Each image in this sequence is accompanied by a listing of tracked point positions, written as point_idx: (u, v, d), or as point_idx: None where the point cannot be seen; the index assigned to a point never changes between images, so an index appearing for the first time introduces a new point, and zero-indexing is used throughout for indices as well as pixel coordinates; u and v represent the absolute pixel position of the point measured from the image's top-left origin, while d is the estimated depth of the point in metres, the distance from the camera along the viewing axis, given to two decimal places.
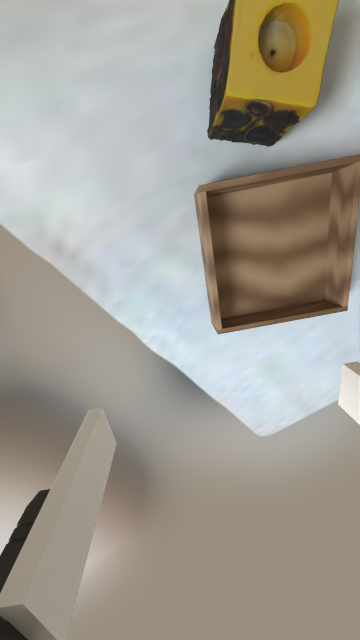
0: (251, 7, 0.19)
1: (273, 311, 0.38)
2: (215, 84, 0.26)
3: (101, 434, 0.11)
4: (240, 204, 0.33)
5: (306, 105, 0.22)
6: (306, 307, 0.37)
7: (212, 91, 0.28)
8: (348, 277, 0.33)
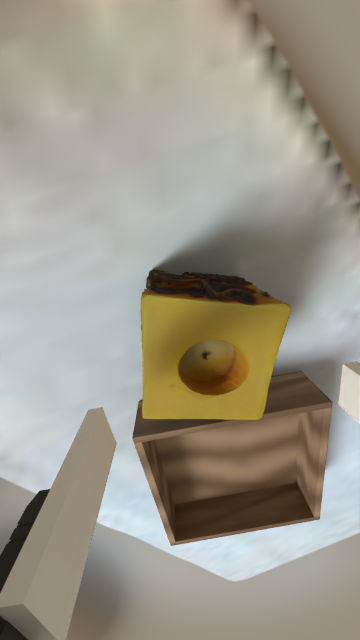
0: (164, 347, 0.14)
1: (238, 502, 0.33)
2: None
3: (101, 434, 0.11)
4: None
5: (249, 418, 0.17)
6: (274, 502, 0.32)
7: None
8: (319, 495, 0.28)
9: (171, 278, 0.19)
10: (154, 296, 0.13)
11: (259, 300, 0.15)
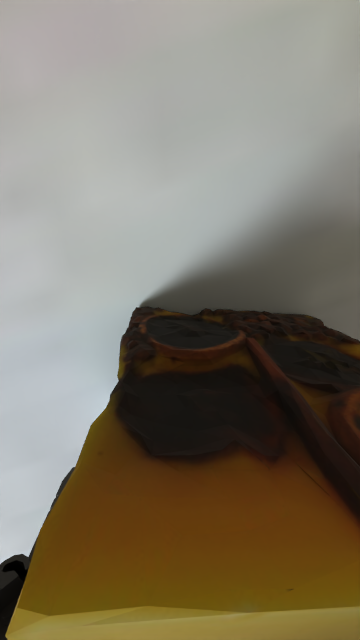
0: None
1: None
2: None
3: None
4: None
5: None
6: None
7: None
8: None
9: (178, 336, 0.08)
10: (90, 611, 0.02)
11: None
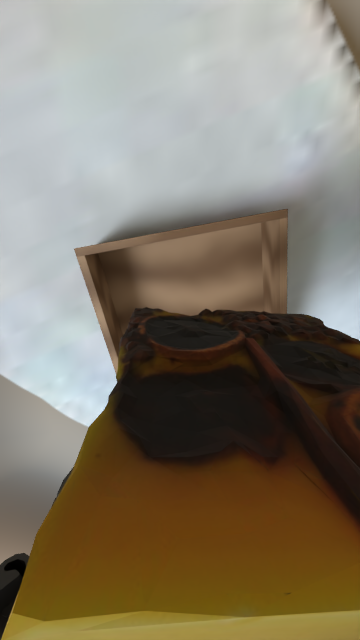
0: None
1: None
2: None
3: None
4: (149, 259, 0.26)
5: None
6: None
7: None
8: None
9: (177, 336, 0.08)
10: (86, 616, 0.02)
11: None
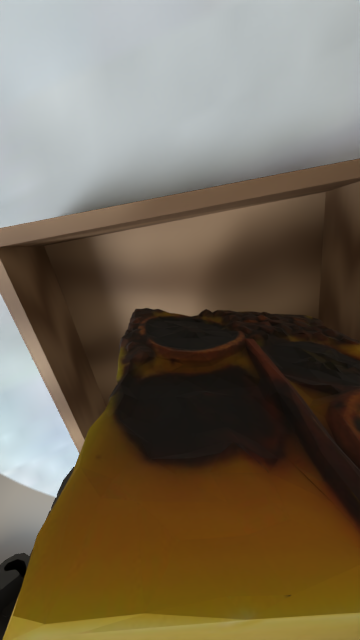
0: None
1: None
2: None
3: None
4: (133, 257, 0.15)
5: None
6: None
7: None
8: None
9: (177, 337, 0.08)
10: (87, 618, 0.02)
11: None
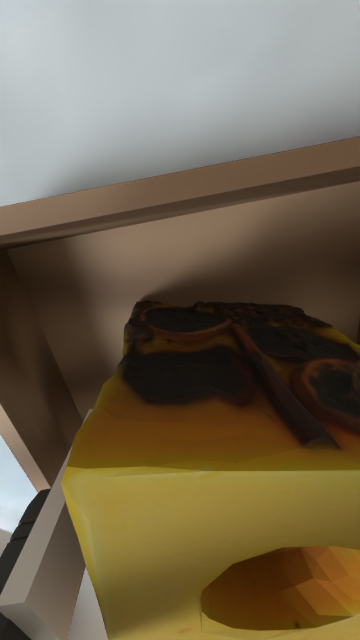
0: (158, 575, 0.05)
1: None
2: None
3: None
4: (123, 264, 0.12)
5: None
6: None
7: None
8: None
9: (173, 323, 0.10)
10: (110, 469, 0.03)
11: None
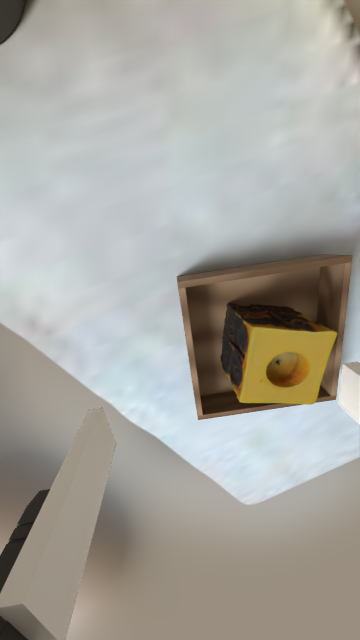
0: (260, 357, 0.24)
1: None
2: (228, 342, 0.31)
3: (101, 434, 0.11)
4: (224, 288, 0.31)
5: (307, 403, 0.26)
6: None
7: (225, 338, 0.32)
8: (337, 369, 0.31)
9: (248, 310, 0.29)
10: (259, 327, 0.22)
11: (314, 327, 0.25)
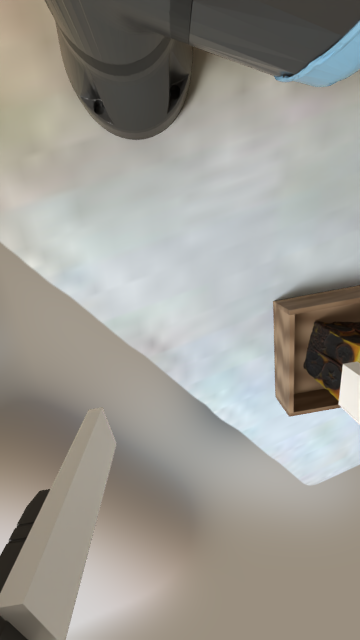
0: None
1: None
2: (317, 353, 0.38)
3: (101, 434, 0.11)
4: None
5: None
6: None
7: (311, 350, 0.39)
8: None
9: (338, 328, 0.36)
10: None
11: None
